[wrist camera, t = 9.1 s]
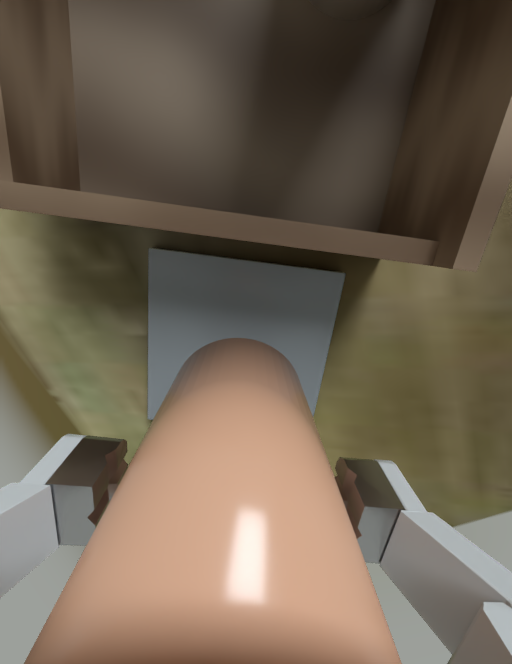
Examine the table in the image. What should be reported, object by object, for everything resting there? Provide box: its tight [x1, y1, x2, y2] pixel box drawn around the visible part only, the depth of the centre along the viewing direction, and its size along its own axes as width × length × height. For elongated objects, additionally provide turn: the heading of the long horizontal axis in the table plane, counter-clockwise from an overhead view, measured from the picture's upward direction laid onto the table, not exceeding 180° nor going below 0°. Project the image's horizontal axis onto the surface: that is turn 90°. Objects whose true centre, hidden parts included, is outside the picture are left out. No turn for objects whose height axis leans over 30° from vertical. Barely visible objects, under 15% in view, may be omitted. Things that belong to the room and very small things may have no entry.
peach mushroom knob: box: [24, 338, 402, 664], centre depth 7 cm, size 6×6×10 cm
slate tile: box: [148, 248, 346, 420], centre depth 16 cm, size 10×10×1 cm
